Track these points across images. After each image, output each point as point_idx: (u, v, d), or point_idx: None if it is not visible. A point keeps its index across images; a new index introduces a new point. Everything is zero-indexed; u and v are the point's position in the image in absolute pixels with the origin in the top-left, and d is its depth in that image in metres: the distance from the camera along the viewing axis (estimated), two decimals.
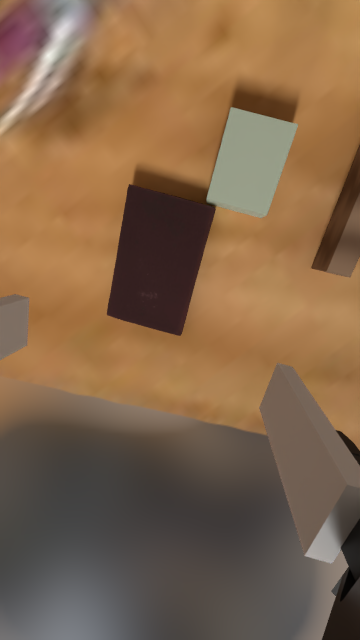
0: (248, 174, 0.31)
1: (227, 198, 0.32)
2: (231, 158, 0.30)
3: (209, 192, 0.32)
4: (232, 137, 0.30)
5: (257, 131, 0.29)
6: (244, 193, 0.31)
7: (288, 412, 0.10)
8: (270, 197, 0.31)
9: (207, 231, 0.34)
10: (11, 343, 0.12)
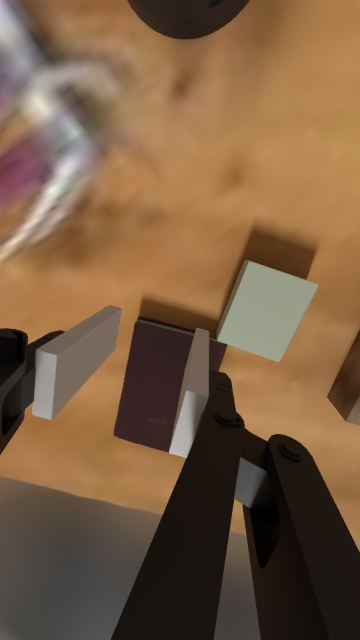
0: (262, 323, 0.29)
1: (239, 342, 0.30)
2: (246, 307, 0.29)
3: (220, 335, 0.30)
4: (248, 288, 0.28)
5: (275, 286, 0.28)
6: (257, 340, 0.30)
7: (189, 361, 0.12)
8: (284, 346, 0.30)
9: (218, 366, 0.33)
10: (109, 348, 0.14)
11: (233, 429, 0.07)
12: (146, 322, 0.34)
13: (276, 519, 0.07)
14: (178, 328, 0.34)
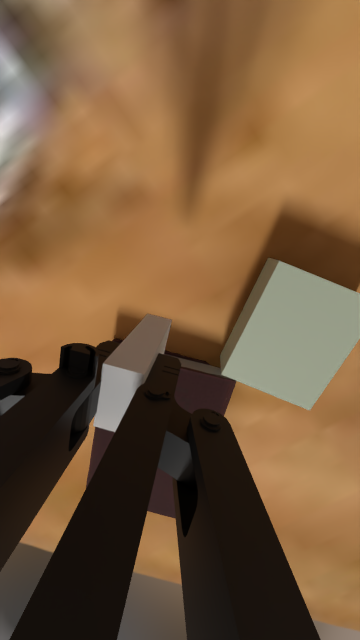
0: (290, 355, 0.20)
1: (253, 379, 0.21)
2: (268, 330, 0.19)
3: (227, 367, 0.21)
4: (275, 303, 0.19)
5: (316, 301, 0.18)
6: (280, 377, 0.20)
7: None
8: (319, 390, 0.20)
9: (224, 408, 0.23)
10: None
11: (162, 402, 0.07)
12: None
13: None
14: (168, 354, 0.25)
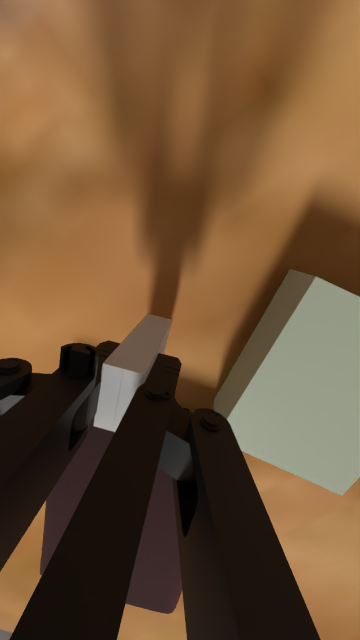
0: (320, 418, 0.13)
1: (261, 448, 0.14)
2: (289, 381, 0.13)
3: None
4: (303, 341, 0.12)
5: None
6: (302, 449, 0.14)
7: None
8: (359, 469, 0.14)
9: None
10: None
11: (162, 402, 0.07)
12: None
13: None
14: None
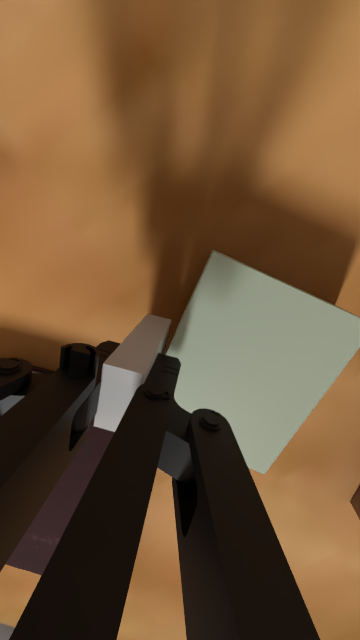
0: (234, 396, 0.13)
1: None
2: (200, 358, 0.13)
3: None
4: (209, 317, 0.12)
5: (271, 318, 0.12)
6: None
7: None
8: (277, 447, 0.14)
9: None
10: None
11: (162, 402, 0.07)
12: None
13: None
14: None
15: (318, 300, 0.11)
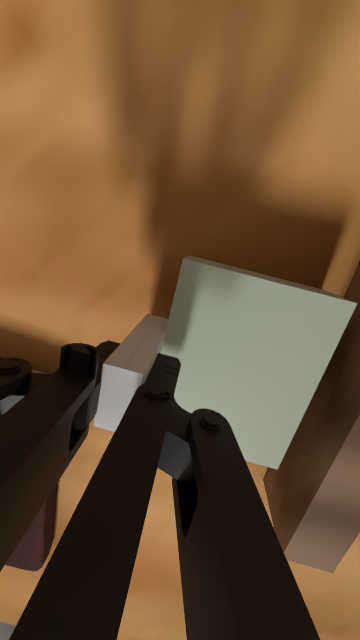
0: (231, 395, 0.13)
1: None
2: (191, 363, 0.13)
3: None
4: (191, 322, 0.12)
5: (251, 313, 0.12)
6: None
7: None
8: (285, 440, 0.13)
9: None
10: None
11: (162, 402, 0.07)
12: None
13: None
14: None
15: (294, 288, 0.11)
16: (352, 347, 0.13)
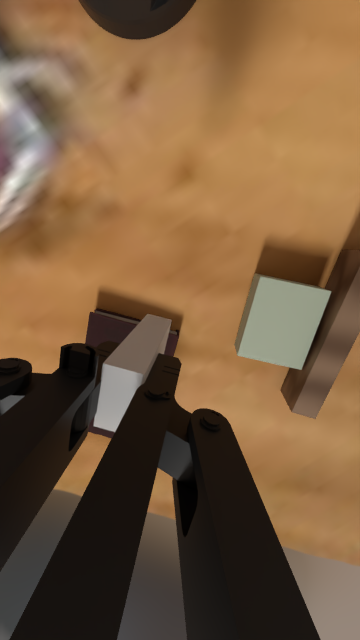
0: (280, 334, 0.30)
1: (259, 354, 0.31)
2: (262, 321, 0.30)
3: (240, 350, 0.31)
4: (263, 302, 0.29)
5: (288, 297, 0.28)
6: (277, 350, 0.30)
7: None
8: (304, 354, 0.30)
9: None
10: None
11: (162, 402, 0.07)
12: (102, 313, 0.35)
13: None
14: (134, 320, 0.35)
15: (306, 286, 0.28)
16: (325, 312, 0.29)
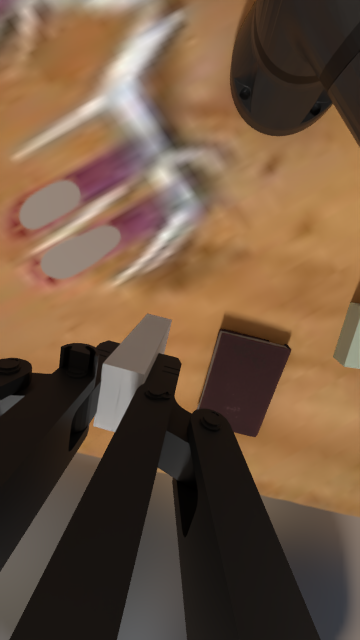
0: None
1: None
2: None
3: (346, 362, 0.41)
4: None
5: None
6: None
7: None
8: None
9: (284, 365, 0.43)
10: None
11: (162, 402, 0.07)
12: (227, 333, 0.45)
13: None
14: (251, 337, 0.45)
15: None
16: None
